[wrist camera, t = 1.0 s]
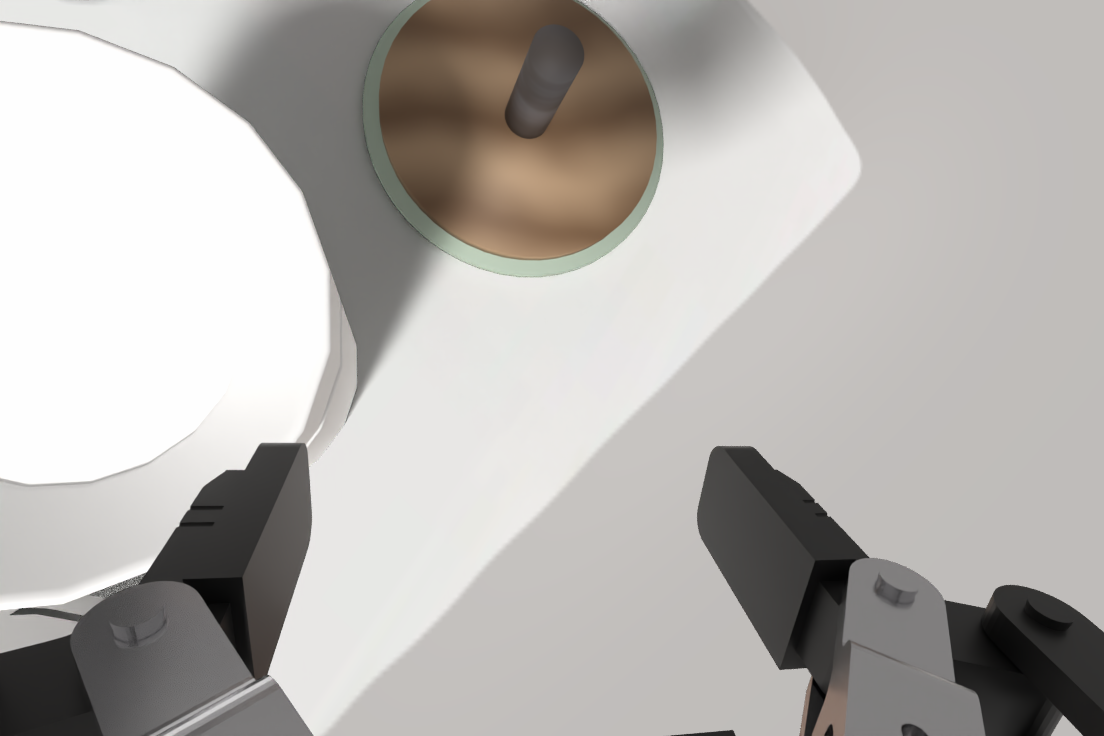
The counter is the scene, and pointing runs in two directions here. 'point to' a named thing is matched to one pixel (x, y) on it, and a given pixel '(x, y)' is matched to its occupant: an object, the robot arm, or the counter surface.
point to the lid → (517, 124)
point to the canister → (143, 310)
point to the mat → (442, 237)
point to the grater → (40, 624)
